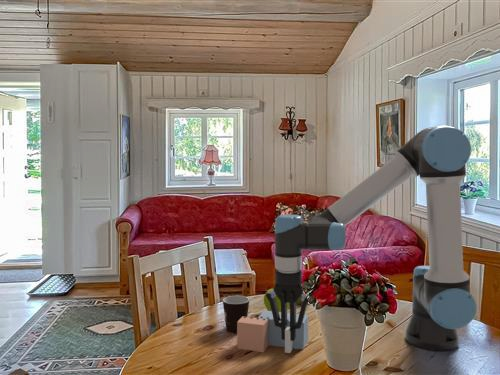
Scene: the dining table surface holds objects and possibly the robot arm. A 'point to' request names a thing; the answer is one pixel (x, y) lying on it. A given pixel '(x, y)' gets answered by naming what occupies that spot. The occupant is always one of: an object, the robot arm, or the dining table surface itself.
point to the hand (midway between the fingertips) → (288, 350)
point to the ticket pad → (276, 333)
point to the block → (252, 334)
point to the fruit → (267, 303)
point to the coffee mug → (234, 311)
